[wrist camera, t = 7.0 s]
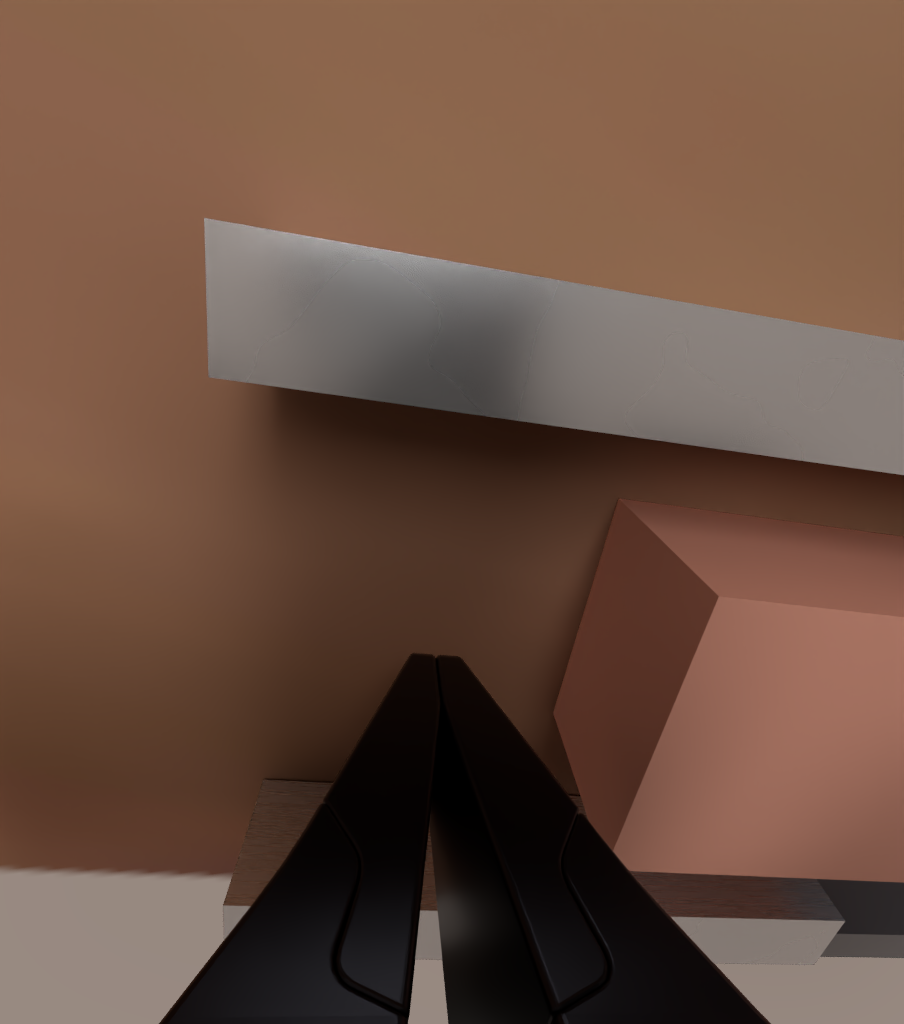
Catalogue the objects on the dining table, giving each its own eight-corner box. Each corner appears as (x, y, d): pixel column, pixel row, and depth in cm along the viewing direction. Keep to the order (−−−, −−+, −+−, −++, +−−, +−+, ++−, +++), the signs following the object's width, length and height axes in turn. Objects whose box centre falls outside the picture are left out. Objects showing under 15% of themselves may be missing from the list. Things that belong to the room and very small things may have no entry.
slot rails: (1005, 370, 9) (1221, 396, 6) (744, 847, 13) (813, 964, 11) (273, 244, 7) (204, 218, 5) (262, 826, 12) (224, 956, 9)
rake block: (946, 538, 10) (1194, 650, 7) (835, 728, 12) (990, 885, 9) (613, 493, 9) (718, 596, 6) (550, 704, 11) (604, 869, 8)
